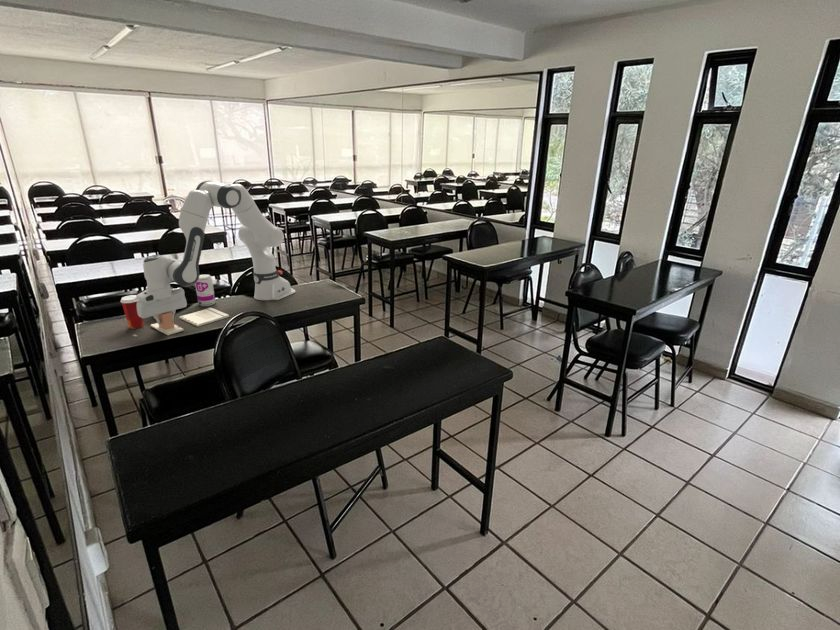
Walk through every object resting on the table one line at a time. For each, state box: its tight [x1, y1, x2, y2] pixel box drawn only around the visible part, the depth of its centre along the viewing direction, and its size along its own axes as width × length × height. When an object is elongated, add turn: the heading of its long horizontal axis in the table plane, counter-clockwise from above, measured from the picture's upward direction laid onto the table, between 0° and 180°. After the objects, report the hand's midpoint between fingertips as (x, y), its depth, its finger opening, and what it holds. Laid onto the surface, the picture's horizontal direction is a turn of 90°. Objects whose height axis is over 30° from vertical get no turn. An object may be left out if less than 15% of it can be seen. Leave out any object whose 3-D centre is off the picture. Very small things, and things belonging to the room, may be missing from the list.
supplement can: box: [194, 273, 216, 307], centre depth 236 cm, size 8×8×15 cm
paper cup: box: [119, 294, 144, 330], centre depth 208 cm, size 8×8×14 cm
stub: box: [150, 312, 185, 336], centre depth 206 cm, size 7×16×8 cm, turn 53°
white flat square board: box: [179, 307, 230, 327], centre depth 221 cm, size 16×16×1 cm
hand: (165, 321), depth 207 cm, fingers closed on stub, 4 cm apart
